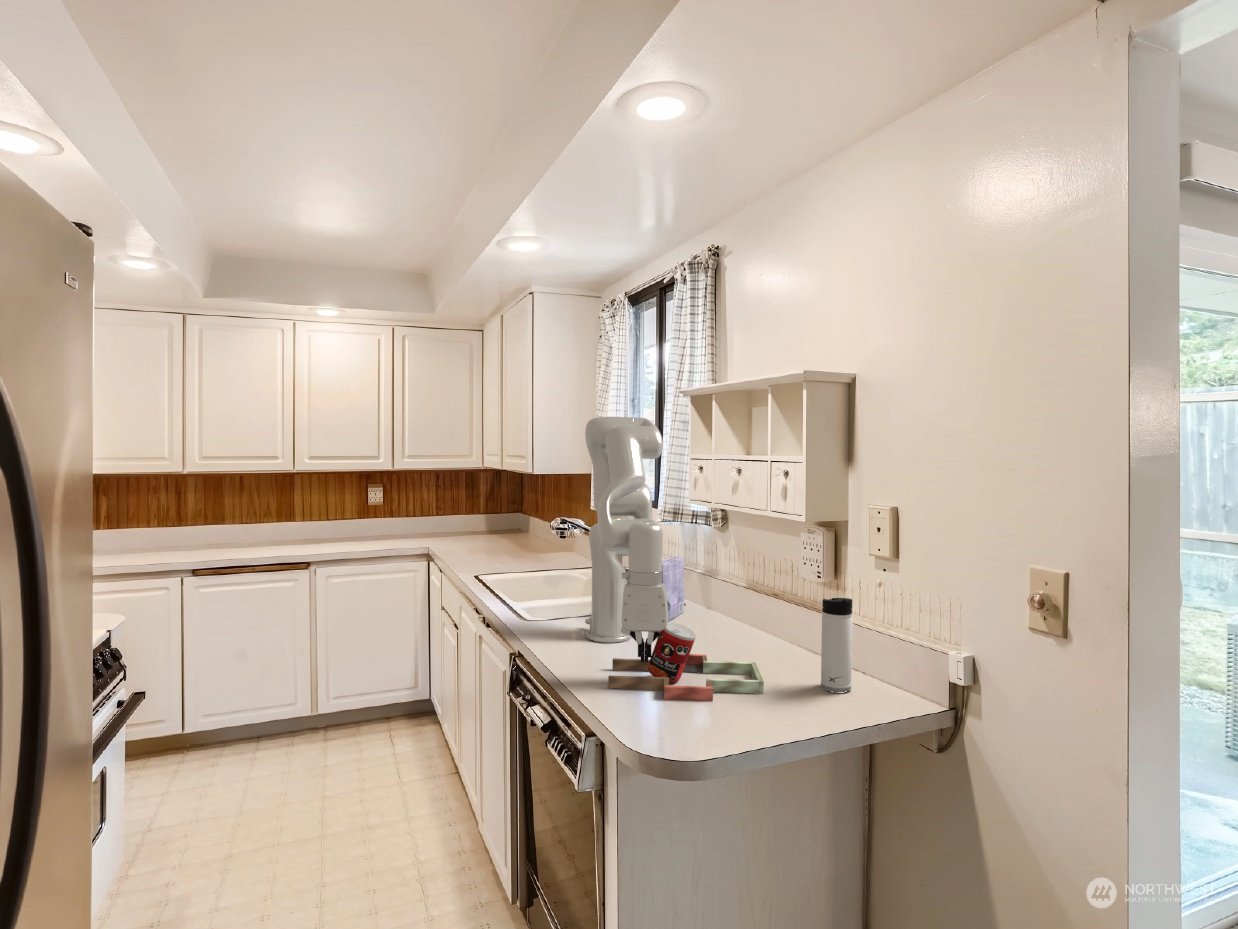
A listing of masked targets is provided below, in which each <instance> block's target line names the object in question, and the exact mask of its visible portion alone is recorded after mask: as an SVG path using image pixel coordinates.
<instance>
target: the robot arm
mask: <svg viewBox="0 0 1238 929" xmlns="http://www.w3.org/2000/svg"><path fill="white" fill-rule="evenodd" d="M584 433H585V434H584V437H585V443H586V448H587V451H588V454H589V457H590V460H591V464H592V476H593V477H592V480H593V481H592V482H593V483H592V486H593V488H592V489H593V507H594V510H595V512H596V517H597V518H596V519H597V523H596V522H595V524H593V525H592V526H591V527H590V529H589V533H588V543H589V550H590V557H591V559H590V560H591V615H590V616H589V617H588V618H586V619H585V621H584V623H585V624H586V625H589V629H588V630H586V632H585V637H586V638H587V640H589V641H592V640H593V642H597V643H608V644H609V643H622V642H626V641H628V640H630V639H631V638H632V639H633V640H634V641H635V642H636V644H637V658H640V659H641V662H644V659H645V662H648V659H649V658H651V656H652V644H653V643H654V641H655V640H657V639H658V637H659V634H660V632H661V631H664V630H665V628H667V625H668V622H669V621H668V607H667V594H666V588H665V585H664V584H662V560H663V529H662V526H661V524H659V523H657V522H656V521H655V520H654V519H653V500H652V492H651V490H650V487H649V486H648V485H647V484H646V473H645V467H644V462H643V460H656V459H658V458H660V456H661V454H662V453H663V447H664V445H663V444H664V441H663V437H662V434H661V432H660V430H659V428H658V427H657V426H656V425H655V424H654V423H653V422H652V421H650V420H649V419H648V418H646V417H645V418H644V417H629V416H628V417H627V416H626V417H625V416H624V417H623V416H599V417H593V418H591V419H590V420H588V421H587V423H586V426H585V432H584ZM612 517H632V518H612ZM619 557H628V562H627V563H628V565H627V566H628V567H627V568H628V569H627V570H626V569H625V567H624V566H623V564H622V563H621V562H620V561H619V559H618V558H619ZM642 632H648V634H647V638H646V639H645V641H644V638H643V634H642Z"/></svg>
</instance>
